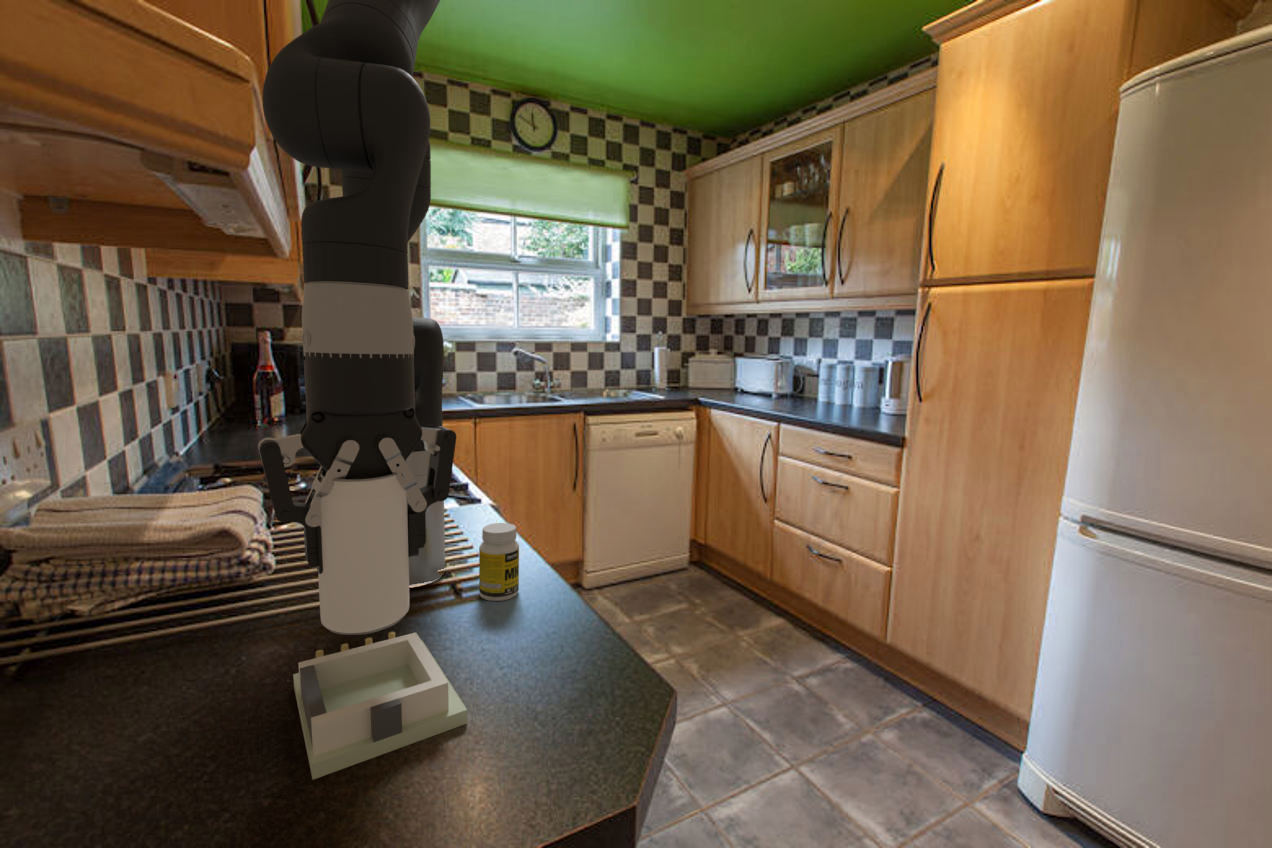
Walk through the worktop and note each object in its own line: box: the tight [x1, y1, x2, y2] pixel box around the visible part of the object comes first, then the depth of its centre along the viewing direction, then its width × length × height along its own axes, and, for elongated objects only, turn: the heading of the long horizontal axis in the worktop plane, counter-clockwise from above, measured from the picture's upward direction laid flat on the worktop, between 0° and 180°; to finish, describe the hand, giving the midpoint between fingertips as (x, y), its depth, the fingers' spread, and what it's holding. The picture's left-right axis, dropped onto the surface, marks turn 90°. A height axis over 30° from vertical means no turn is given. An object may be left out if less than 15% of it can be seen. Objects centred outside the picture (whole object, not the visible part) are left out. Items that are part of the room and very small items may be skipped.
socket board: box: [292, 631, 468, 781], centre depth 48 cm, size 13×11×4 cm
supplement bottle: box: [478, 522, 520, 602], centre depth 70 cm, size 5×5×8 cm
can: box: [317, 471, 410, 636], centre depth 45 cm, size 6×6×12 cm
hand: (368, 560), depth 46 cm, fingers closed on can, 6 cm apart
